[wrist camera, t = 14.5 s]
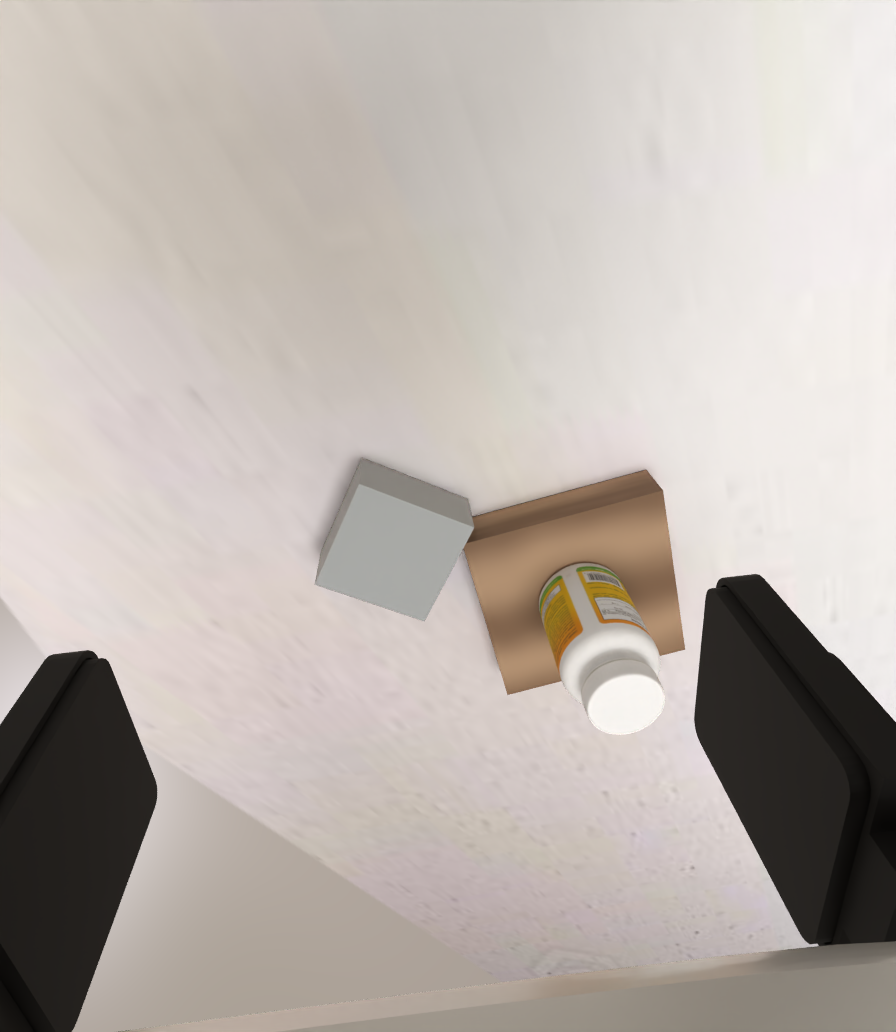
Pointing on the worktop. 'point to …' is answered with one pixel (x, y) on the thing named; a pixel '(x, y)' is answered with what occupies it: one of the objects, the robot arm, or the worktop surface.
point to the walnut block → (564, 542)
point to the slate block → (394, 541)
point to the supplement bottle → (602, 648)
